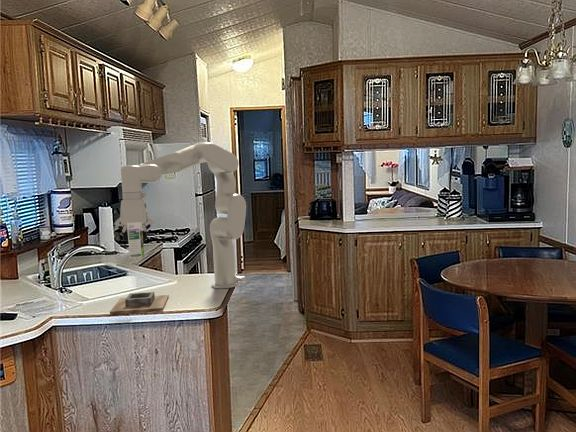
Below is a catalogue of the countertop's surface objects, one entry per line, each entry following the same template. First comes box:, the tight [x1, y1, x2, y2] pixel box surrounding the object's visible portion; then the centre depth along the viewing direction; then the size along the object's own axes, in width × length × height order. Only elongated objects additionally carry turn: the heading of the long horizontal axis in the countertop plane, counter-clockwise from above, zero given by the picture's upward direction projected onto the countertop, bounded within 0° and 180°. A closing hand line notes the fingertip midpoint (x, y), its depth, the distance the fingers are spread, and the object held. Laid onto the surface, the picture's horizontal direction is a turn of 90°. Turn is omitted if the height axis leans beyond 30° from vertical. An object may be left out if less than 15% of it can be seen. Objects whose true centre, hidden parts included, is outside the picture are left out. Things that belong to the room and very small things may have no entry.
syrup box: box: [127, 222, 145, 260], centre depth 209 cm, size 6×6×14 cm
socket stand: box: [109, 291, 170, 316], centre depth 212 cm, size 20×20×4 cm
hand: (135, 241), depth 209 cm, fingers closed on syrup box, 6 cm apart
